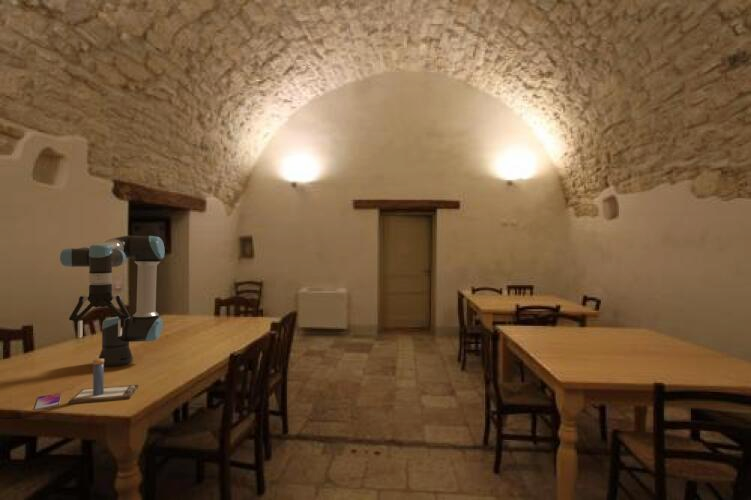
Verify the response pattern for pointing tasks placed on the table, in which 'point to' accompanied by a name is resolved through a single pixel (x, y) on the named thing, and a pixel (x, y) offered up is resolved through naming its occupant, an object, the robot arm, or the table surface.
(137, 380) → the table surface
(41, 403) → the smartphone
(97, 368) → the blue cylinder
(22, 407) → the table surface
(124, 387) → the clipboard
